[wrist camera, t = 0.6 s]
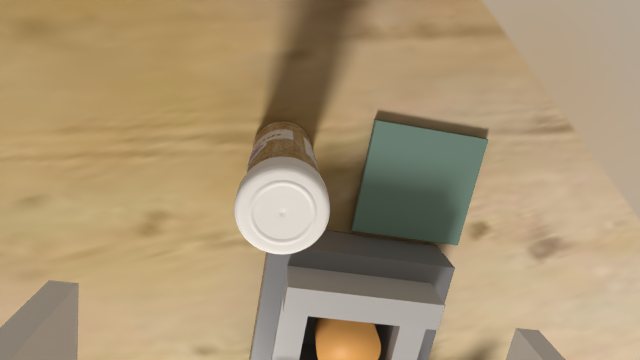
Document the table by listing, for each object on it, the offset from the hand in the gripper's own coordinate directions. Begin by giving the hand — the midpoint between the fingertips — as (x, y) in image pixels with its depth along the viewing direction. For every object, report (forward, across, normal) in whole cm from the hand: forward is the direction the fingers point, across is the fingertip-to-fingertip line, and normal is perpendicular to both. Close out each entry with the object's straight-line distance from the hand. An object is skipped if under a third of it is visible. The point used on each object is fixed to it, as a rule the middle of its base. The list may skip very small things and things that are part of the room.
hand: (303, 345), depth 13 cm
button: (+19, +6, -12) cm, 23 cm away
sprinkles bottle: (+21, -1, +1) cm, 21 cm away
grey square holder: (+21, +6, -12) cm, 25 cm away
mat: (+21, +10, 0) cm, 23 cm away
